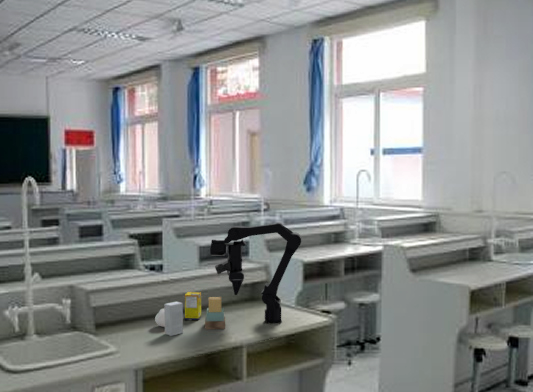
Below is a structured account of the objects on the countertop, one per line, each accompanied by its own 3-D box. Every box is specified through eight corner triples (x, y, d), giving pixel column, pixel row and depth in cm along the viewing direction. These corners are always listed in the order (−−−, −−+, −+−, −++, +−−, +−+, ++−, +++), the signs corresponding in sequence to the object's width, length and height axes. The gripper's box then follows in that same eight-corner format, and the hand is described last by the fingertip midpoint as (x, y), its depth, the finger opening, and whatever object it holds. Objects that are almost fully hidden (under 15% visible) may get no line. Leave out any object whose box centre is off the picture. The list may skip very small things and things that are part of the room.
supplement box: (201, 316, 256) (201, 291, 255) (198, 320, 250) (198, 294, 249) (187, 316, 256) (187, 291, 256) (184, 319, 250) (184, 294, 250)
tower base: (224, 324, 245) (224, 316, 245) (225, 330, 237) (225, 321, 237) (205, 324, 245) (205, 316, 244) (205, 330, 237) (205, 321, 236)
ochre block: (220, 308, 243) (220, 297, 243) (221, 312, 238) (221, 299, 238) (208, 309, 243) (208, 297, 242) (209, 312, 238) (209, 300, 237)
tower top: (224, 316, 245) (224, 308, 244) (223, 321, 238) (223, 312, 237) (207, 316, 244) (207, 308, 244) (206, 321, 237) (206, 312, 237)
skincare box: (176, 330, 234) (176, 301, 233) (183, 333, 231) (183, 303, 230) (164, 333, 230) (163, 303, 229) (170, 336, 227) (170, 305, 226)
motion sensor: (164, 323, 245) (163, 304, 245) (178, 325, 242) (178, 307, 241) (151, 327, 238) (151, 308, 238) (166, 330, 235) (166, 311, 234)
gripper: (215, 252, 257) (215, 288, 258) (216, 259, 239) (216, 297, 240) (240, 252, 258) (241, 287, 259) (244, 259, 240) (244, 297, 241)
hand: (235, 292), depth 250 cm, fingers open, 9 cm apart
